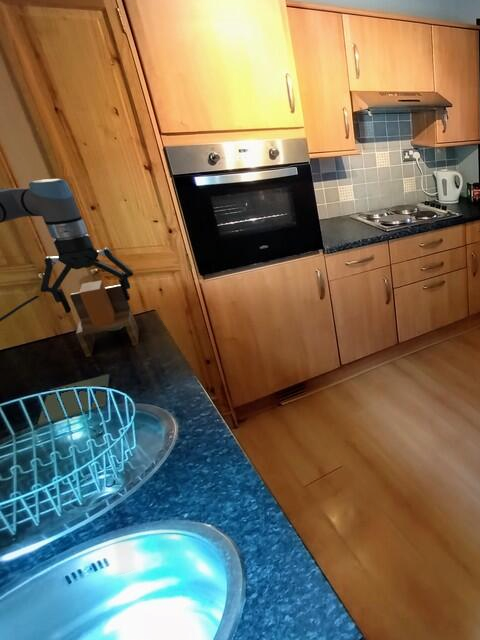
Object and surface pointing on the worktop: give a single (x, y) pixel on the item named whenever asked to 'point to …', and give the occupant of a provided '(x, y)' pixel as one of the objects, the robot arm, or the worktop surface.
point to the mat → (74, 400)
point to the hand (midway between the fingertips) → (99, 305)
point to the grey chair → (121, 319)
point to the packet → (97, 303)
